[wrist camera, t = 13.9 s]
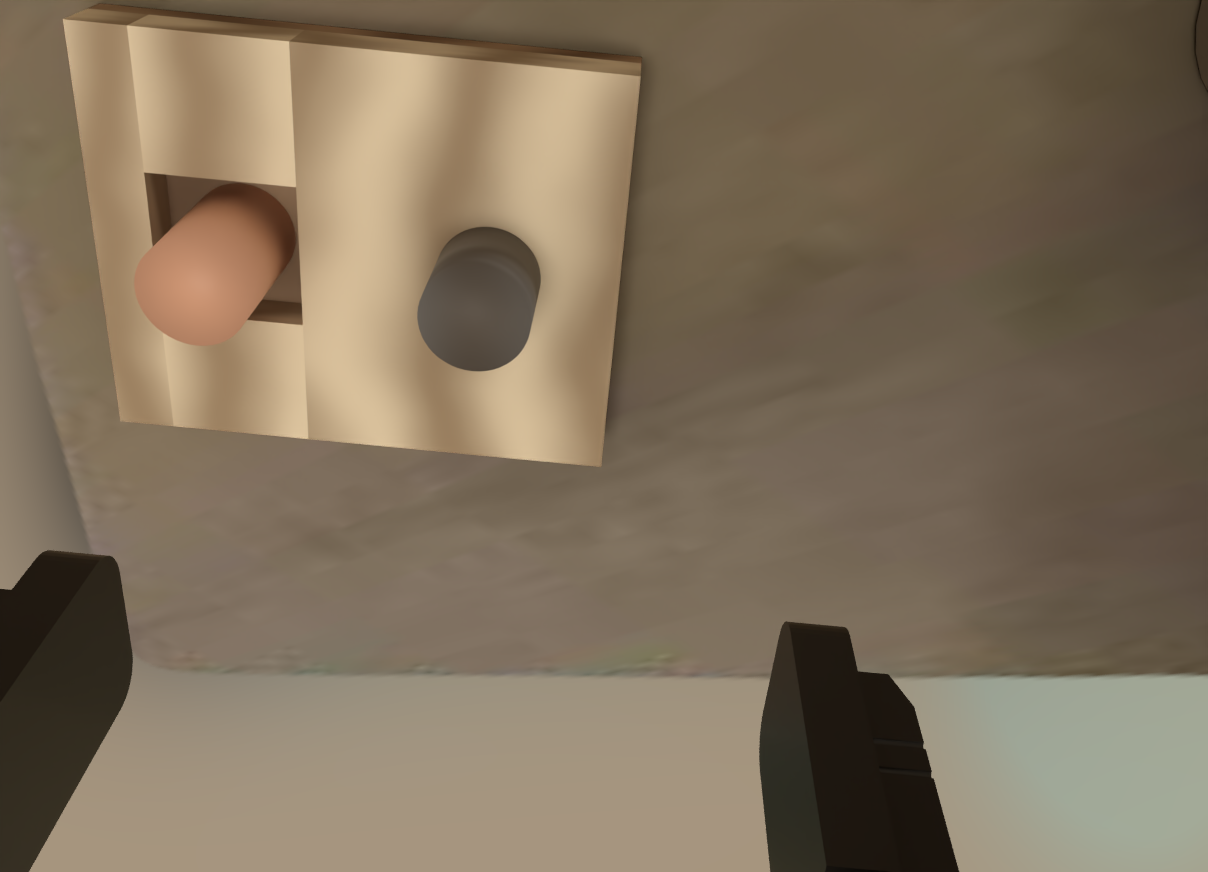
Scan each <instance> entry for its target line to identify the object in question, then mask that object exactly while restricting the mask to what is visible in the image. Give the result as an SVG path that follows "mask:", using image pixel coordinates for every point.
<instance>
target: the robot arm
mask: <svg viewBox="0 0 1208 872" xmlns="http://www.w3.org/2000/svg"><path fill="white" fill-rule="evenodd" d="M1196 57H1197V61H1198V66H1199V71H1200V75H1201V79H1202V81H1203V83H1204V85H1205V87H1206V89H1207V91H1208V0H1202V2H1201V6H1200V11H1199V15H1198V19H1197V24H1196ZM132 663H133V657H132V648H131V642H130V635H129V629H128V622H127V616H126V610H125V603H124V597H123V590H122V584H121V577H120V572H119V567H118V564H117V562H116V561H115V559H114V558H113V557H111V556H105V555H94V554H83V553H73V552H61V551H51V550H49V551H45V552H43V553H41V554H40V555H39V556H38V557H37V558H36V560H35V561H34V562H33V563H32V565H31V566H30V567H29V568H28V570H27V571H26V572H25V574H24V575H23V576H22V577H21V579H20V580H19V581H18V583H17V584H16V585H15V587H14V588H13V589H12V590H5V589H0V872H29V870H30V869H31V867H32V865H33V863H34V862H35V860H36V858H37V856H38V854H39V853H40V851H41V849H42V847H43V846H44V844H45V842H46V840H47V839H48V837H49V835H50V833H51V831H52V830H53V828H54V826H55V824H56V822H57V821H58V819H59V817H60V815H61V813H62V812H63V810H64V808H65V807H66V805H67V803H68V801H69V800H70V798H71V796H72V794H73V793H74V791H75V789H76V787H77V786H78V784H79V782H80V780H81V778H82V776H83V775H84V773H85V771H86V770H87V768H88V766H89V764H90V763H91V761H92V759H93V757H94V755H95V754H96V752H97V750H98V748H99V747H100V745H101V743H102V741H103V739H104V738H105V736H106V734H107V732H108V731H109V729H110V727H111V725H112V724H113V722H114V720H115V718H116V717H117V715H118V713H119V711H120V710H121V707H122V706H123V703H124V701H125V699H126V696H127V693H128V689H129V685H130V680H131V675H132ZM923 743H924V741H923V738H922V734H921V730H920V727H919V723H918V719H917V716H916V712H915V708H914V706H913V705H912V704H911V703H910V701H909V700H908V699H907V697H906V696H905V695H904V694H903V692H902V691H901V690H900V689H899V687H898V686H897V685H896V684H895V683H894V681H893V680H892V678H891V677H890V676H889V675H888V674H879V673H868V672H858V670H857V666H856V661H855V657H854V652H853V648H852V643H851V639H850V635H849V632H848V630H847V628H845V627H837V626H827V625H816V624H805V623H795V622H784V624H783V626H782V628H781V631H780V635H779V640H778V645H777V649H776V654H775V659H774V663H773V668H772V673H771V678H770V682H769V687H768V692H767V696H766V701H765V706H764V710H763V716H762V722H761V731H760V748H759V750H760V751H759V753H760V755H759V760H760V775H761V784H762V794H763V804H764V814H765V823H766V833H767V843H768V853H769V861H770V872H959V870H958V866H957V863H956V859H955V855H954V852H953V848H952V844H951V841H950V837H949V834H948V830H947V826H946V822H945V819H944V815H943V812H942V807H941V804H940V800H939V796H938V793H937V789H936V785H935V782H934V779H933V778H931V772H932V771H931V767H930V764H929V760H928V756H927V752H926V750H925V749H923Z"/></svg>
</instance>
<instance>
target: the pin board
mask: <svg viewBox="0 0 1208 872" xmlns="http://www.w3.org/2000/svg"><path fill="white" fill-rule="evenodd" d="M63 23H64V30H65V37H66V44H67V50H68V57H69V64H70V71H71V78H72V85H73V92H74V99H75V106H76V113H77V120H78V127H79V134H80V141H81V148H82V155H83V162H84V169H85V176H86V183H87V190H88V197H89V204H90V211H91V218H92V225H93V232H94V239H95V246H96V253H97V260H98V267H99V274H100V281H101V288H102V295H103V302H104V309H105V316H106V323H107V330H108V337H109V344H110V351H111V358H112V364H113V371H114V378H115V385H116V392H117V399H118V406H119V413H120V420H121V421H126V422H136V423H147V424H157V425H168V426H178V427H188V428H199V429H209V430H220V431H230V432H241V433H251V434H262V435H272V436H283V437H293V438H304V439H314V440H325V441H335V442H346V443H356V444H367V445H377V446H388V447H398V448H409V449H419V450H429V451H440V452H450V453H461V454H471V455H482V456H492V457H503V458H513V459H524V460H534V461H545V462H555V463H566V464H576V465H587V466H597V467H601V462H602V452H603V442H604V432H605V422H606V413H607V403H608V393H609V383H610V373H611V364H612V354H613V344H614V334H615V324H616V314H617V305H618V295H619V285H620V275H621V265H622V256H623V246H624V236H625V226H626V216H627V206H628V197H629V187H630V177H631V167H632V157H633V148H634V138H635V128H636V118H637V108H638V98H639V89H640V79H641V62H642V57H634V56H624V55H614V54H604V53H594V52H584V51H574V50H564V49H554V48H544V47H534V46H523V45H513V44H503V43H493V42H483V41H473V40H463V39H453V38H443V37H433V36H423V35H413V34H402V33H392V32H382V31H372V30H362V29H352V28H342V27H332V26H322V25H312V24H302V23H291V22H281V21H271V20H261V19H251V18H241V17H231V16H221V15H211V14H201V13H191V12H181V11H170V10H160V9H150V8H140V7H130V6H120V5H110V4H100V3H99V4H97V5H95V6H92V7H90V8H88V9H85V10H83V11H81V12H78V13H76V14H74V15H71V16H69V17H67V18H65V19H63ZM232 183H241V184H247V185H251V186H254V187H257V188H260V189H262V190H263V191H265V192H267V193H269V194H270V195H271V196H273V197H274V198H275V199H276V200H277V201H279V203H280V204H281V205H282V206H283V207H284V208H285V210H286V211H287V213H288V215H289V216H290V218H291V221H292V223H293V226H294V229H295V236H296V244H295V250H294V253H293V256H292V258H291V260H290V261H289V263H288V264H287V266H286V267H285V269H284V270H283V271H282V273H281V274H280V275H279V277H278V278H277V280H276V281H275V282H274V284H273V285H272V286H271V288H270V289H269V290H268V292H267V293H266V295H265V296H264V297H263V299H262V300H261V301H260V303H259V304H258V306H257V307H256V308H255V310H254V311H253V312H252V314H251V315H250V317H249V318H248V319H247V321H246V322H245V323H244V325H243V326H242V327H241V329H240V330H239V331H238V332H237V333H236V334H235V335H234V336H233V337H231V338H230V339H228V340H226V341H224V342H222V343H219V344H215V345H209V346H197V345H190V344H186V343H183V342H180V341H177V340H175V339H173V338H171V337H169V336H167V335H166V334H164V333H163V332H161V331H160V330H159V329H158V328H156V327H155V326H154V325H153V324H152V323H151V322H150V320H149V319H148V318H147V317H146V315H145V314H144V312H143V311H142V309H141V307H140V305H139V303H138V300H137V298H136V294H135V288H134V276H135V272H136V268H137V266H138V264H139V262H140V260H141V259H142V257H143V256H144V255H145V254H146V253H147V252H148V251H149V250H150V249H151V248H152V247H153V246H154V245H155V244H156V243H157V242H158V241H159V240H160V239H161V238H162V237H163V236H164V235H165V234H166V233H167V232H168V231H169V230H170V229H171V228H172V227H173V226H174V225H175V224H176V223H178V222H179V221H180V220H181V219H182V218H183V217H184V216H185V215H186V214H187V213H188V212H189V211H190V210H191V209H192V208H193V207H194V206H195V205H196V204H197V203H198V202H199V201H200V200H201V199H202V198H203V197H204V196H205V195H206V194H207V193H209V192H210V191H211V190H213V189H215V188H217V187H219V186H222V185H226V184H232Z"/></svg>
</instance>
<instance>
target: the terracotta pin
mask: <svg viewBox="0 0 1208 872" xmlns="http://www.w3.org/2000/svg"><path fill="white" fill-rule="evenodd" d="M295 244H296V236H295V229H294V226H293V223H292V221H291V218H290V216H289V215H288V213H287V211H286V210H285V208H284V207H283V206H282V205H281V204H280V203H279V201H277V200H276V199H275V198H274V197H273V196H271V195H270V194H269V193H267V192H265V191H263V190H262V189H260V188H257V187H254V186H251V185H247V184H241V183H232V184H226V185H222V186H219V187H217V188H215V189H213V190H211V191H210V192H209V193H207V194H206V195H205V196H204V197H203V198H202V199H201V200H200V201H199V202H198V203H197V204H196V205H195V206H194V207H193V208H192V209H191V210H190V211H189V212H188V213H187V214H186V215H185V216H184V217H183V218H182V219H181V220H180V221H179V222H178V223H176V224H175V225H174V226H173V227H172V228H171V229H170V230H169V231H168V232H167V233H166V234H165V235H164V236H163V237H162V238H161V239H160V240H159V241H158V242H157V243H156V244H155V245H154V246H153V247H152V248H151V249H150V250H149V251H148V252H147V253H146V254H145V255H144V256H143V257H142V259H141V260H140V262H139V264H138V266H137V268H136V272H135V276H134V288H135V294H136V298H137V300H138V303H139V305H140V307H141V309H142V311H143V312H144V314H145V315H146V317H147V318H148V319H149V320H150V322H151V323H152V324H153V325H154V326H155V327H156V328H158V329H159V330H160V331H161V332H163V333H164V334H166V335H167V336H169V337H171V338H173V339H175V340H177V341H180V342H183V343H186V344H190V345H197V346H209V345H215V344H219V343H222V342H224V341H226V340H228V339H230V338H231V337H233V336H234V335H235V334H236V333H237V332H238V331H239V330H240V329H241V327H242V326H243V325H244V323H245V322H246V321H247V319H248V318H249V317H250V315H251V314H252V312H253V311H254V310H255V308H256V307H257V306H258V304H259V303H260V301H261V300H262V299H263V297H264V296H265V295H266V293H267V292H268V290H269V289H270V288H271V286H272V285H273V284H274V282H275V281H276V280H277V278H278V277H279V275H280V274H281V273H282V271H283V270H284V269H285V267H286V266H287V264H288V263H289V261H290V260H291V258H292V256H293V253H294V250H295Z"/></svg>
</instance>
